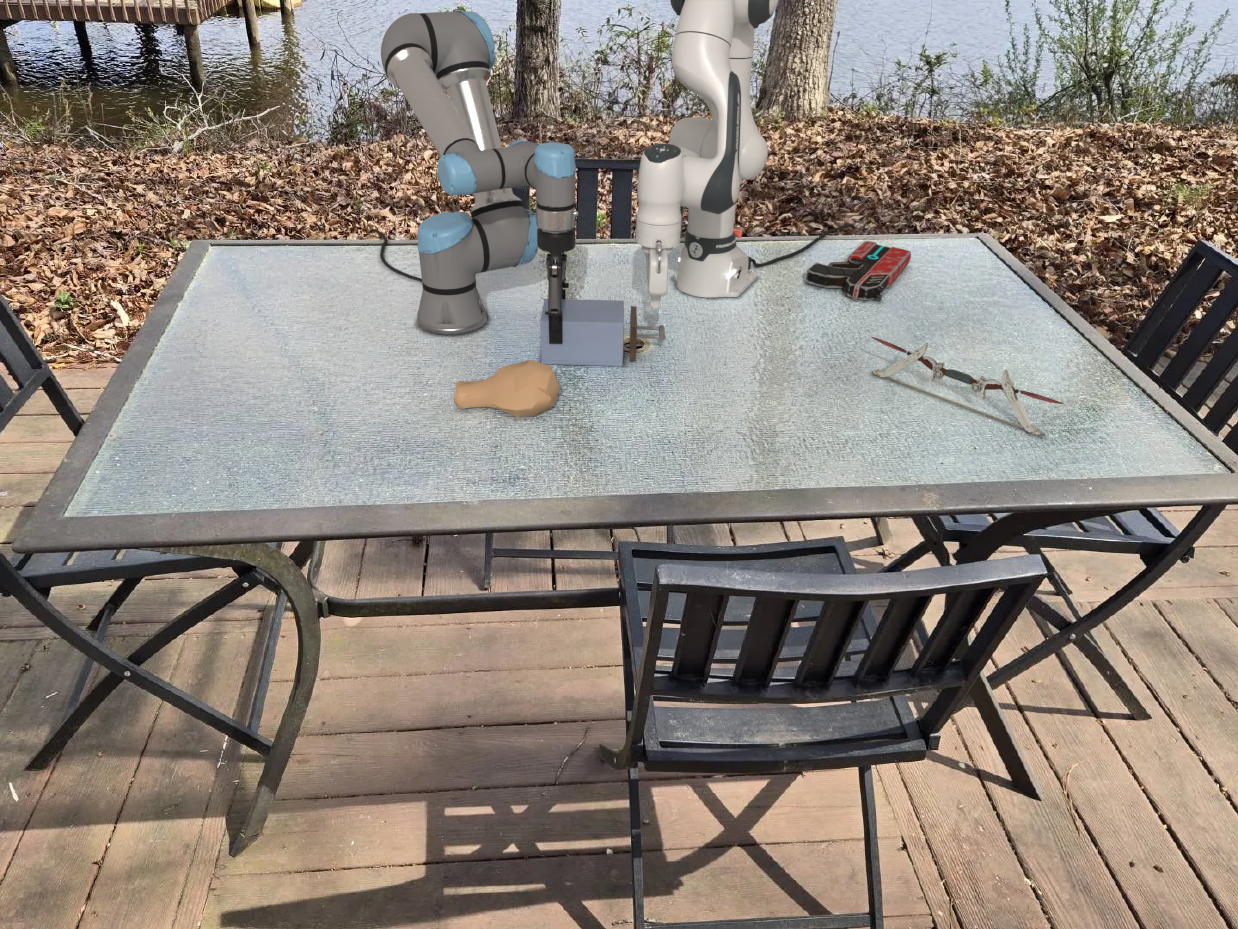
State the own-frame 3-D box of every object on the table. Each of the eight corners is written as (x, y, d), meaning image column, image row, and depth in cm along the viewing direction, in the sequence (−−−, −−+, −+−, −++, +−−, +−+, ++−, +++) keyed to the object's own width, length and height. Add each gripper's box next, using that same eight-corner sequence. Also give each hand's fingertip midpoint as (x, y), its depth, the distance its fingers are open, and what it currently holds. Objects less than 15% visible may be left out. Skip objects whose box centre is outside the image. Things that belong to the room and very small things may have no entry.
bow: (1053, 437, 161) (1070, 389, 156) (1050, 441, 160) (1067, 393, 155) (866, 368, 183) (875, 324, 177) (862, 371, 182) (871, 326, 176)
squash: (561, 423, 162) (553, 385, 155) (455, 431, 163) (443, 394, 157) (564, 386, 169) (557, 349, 163) (463, 394, 171) (452, 358, 165)
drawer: (662, 340, 190) (664, 306, 185) (664, 361, 181) (666, 327, 177) (563, 337, 189) (562, 304, 185) (560, 359, 181) (559, 324, 177)
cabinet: (622, 342, 191) (623, 300, 185) (622, 366, 181) (623, 323, 176) (545, 340, 190) (544, 298, 185) (541, 363, 181) (540, 320, 176)
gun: (803, 270, 216) (880, 289, 208) (845, 233, 238) (916, 249, 230) (800, 287, 219) (876, 306, 211) (842, 249, 240) (912, 265, 233)
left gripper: (572, 249, 161) (573, 356, 173) (577, 209, 181) (578, 307, 193) (531, 248, 161) (535, 355, 173) (541, 208, 181) (544, 306, 193)
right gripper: (677, 252, 163) (672, 320, 170) (671, 216, 180) (668, 280, 187) (643, 251, 163) (640, 319, 170) (641, 215, 180) (638, 279, 187)
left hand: (557, 330), depth 183 cm, fingers closed on cabinet, 11 cm apart
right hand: (654, 299), depth 179 cm, fingers open, 6 cm apart
